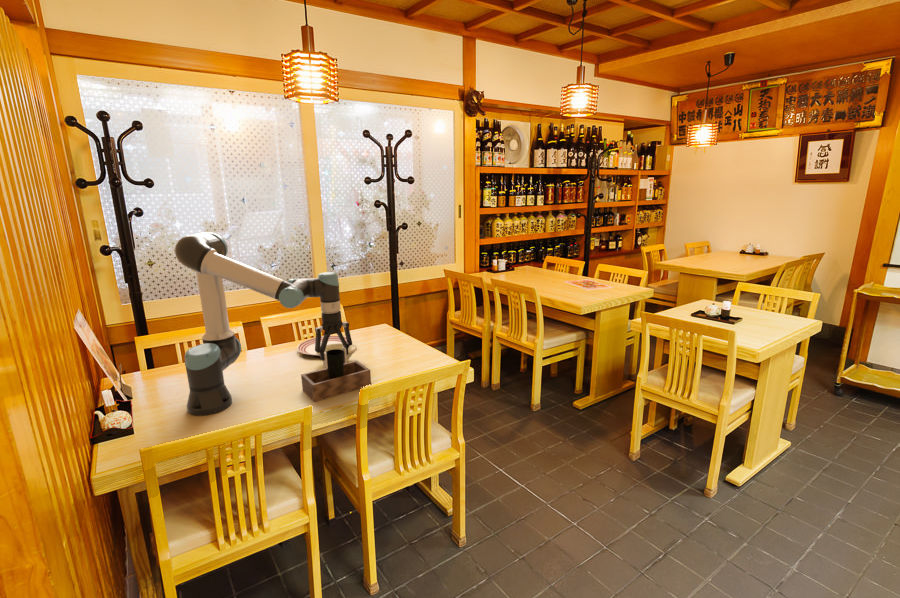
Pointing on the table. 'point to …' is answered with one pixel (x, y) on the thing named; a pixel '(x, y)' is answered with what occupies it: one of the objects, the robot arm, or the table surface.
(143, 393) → the table surface
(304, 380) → the open wooden box
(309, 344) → the dinner plate
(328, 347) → the bowl
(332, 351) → the cup
